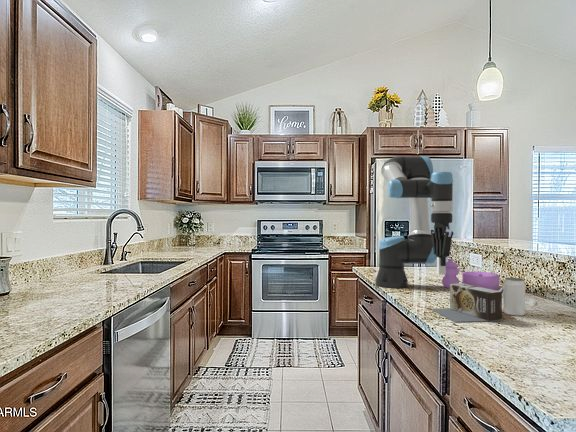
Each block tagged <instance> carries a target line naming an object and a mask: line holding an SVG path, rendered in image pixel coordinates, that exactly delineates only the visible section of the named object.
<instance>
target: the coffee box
mask: <svg viewBox="0 0 576 432" xmlns="http://www.w3.org/2000/svg"><path fill="white" fill-rule="evenodd" d="M449 308H450V309H451V310H455V311H458V312H462V313H465V314H468V315H472V316H475V317H478V318H482V319H485V320H488V321H489V320H496V319H501V320H502V319H503V318H502V313H503V304H502V292H501V291H499V290H491V289H487V288H482V287H478V286H473V285H469V284H464V283H462V282H461V283H460V282H459V284H450V288H449Z"/></svg>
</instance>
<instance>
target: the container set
mask: <svg viewBox="0 0 576 432" xmlns="http://www.w3.org/2000/svg"><path fill="white" fill-rule="evenodd" d="M458 267H459V264H458V263H457V262H455V261H454V259H453V258H448V259H447V261H446V274H443V275H444V276H443V277H442V279H441V284H442V285H443V286H444V288H447V289H450V284H459V283H460V280H459V278H458V277H457V276H458V275H459V274H460V270H459V269H458ZM461 274H462V277H461V278H462V282H461V283H464V284H469V285H473V286H478V287H482V288H487V289H491V290H496V291H499V290H500V274H498V273H495V272H488V271H471V270H470V271H463V272H461Z"/></svg>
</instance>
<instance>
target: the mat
mask: <svg viewBox="0 0 576 432" xmlns="http://www.w3.org/2000/svg"><path fill="white" fill-rule="evenodd" d="M431 311H432V312H434V313H436V314H438V315H440V316H442V317H444V318H446V319H447V320H449V321H451V322H453V323H459V324H460V323H485V322H487V323H488V322H503V319H502V318H501V319H496V320H489V321H488V320H485V319H482V318H478V317H475V316H472V315H468V314H465V313H462V312H458V311H455V310H451V309H450V307H449V308H431Z"/></svg>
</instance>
